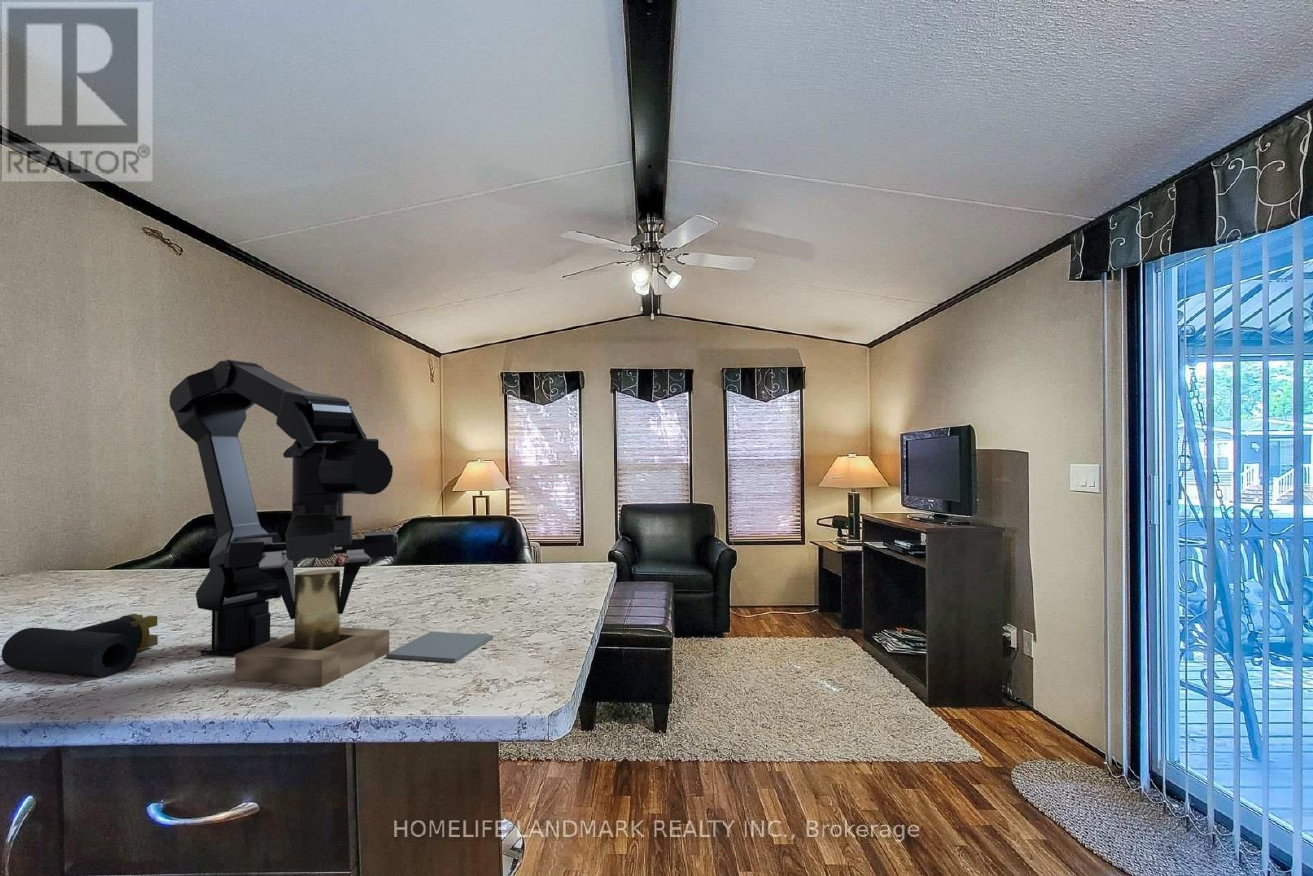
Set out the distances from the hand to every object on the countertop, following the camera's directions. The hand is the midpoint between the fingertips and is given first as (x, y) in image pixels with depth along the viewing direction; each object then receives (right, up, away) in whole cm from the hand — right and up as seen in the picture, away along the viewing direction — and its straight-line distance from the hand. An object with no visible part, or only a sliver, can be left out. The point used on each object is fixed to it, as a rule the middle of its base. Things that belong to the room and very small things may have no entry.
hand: (317, 615), depth 75 cm
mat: (+14, -6, +6) cm, 16 cm away
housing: (0, -6, 0) cm, 6 cm away
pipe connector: (-30, -7, +2) cm, 31 cm away
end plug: (0, -4, 0) cm, 4 cm away
